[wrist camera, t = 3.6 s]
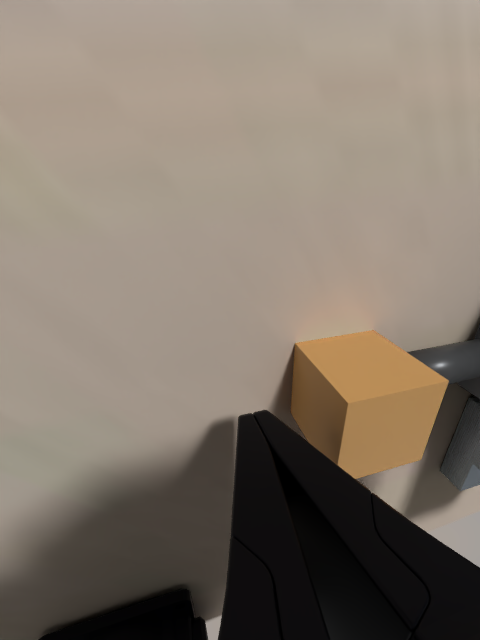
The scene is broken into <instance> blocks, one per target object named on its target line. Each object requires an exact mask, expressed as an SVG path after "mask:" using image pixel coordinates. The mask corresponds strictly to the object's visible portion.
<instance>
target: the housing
mask: <svg viewBox="0 0 480 640" xmlns="http://www.w3.org/2000/svg"><path fill="white" fill-rule="evenodd" d="M440 471H441V472H442V473H443V474H444V475H445V476H446V477H447V478H448V479H449V480H450V481H451V483H452V484H453V485H454V486H455V487H456V488H457V489H458V490H459V491H462V490H465V489H468V488H471V487H474V486H477V485H480V399H479V398H478V397H476V396H475V397H471V398H469V399H468V402H467V404H466V407H465V409H464V412H463V414H462V417H461V419H460V422H459V424H458V426H457V429H456V431H455V434H454V436H453V439H452V441H451V444H450V446H449V449H448V451H447V454H446V456H445V459H444V461H443V464H442V466H441V468H440Z"/></svg>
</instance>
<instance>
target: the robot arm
mask: <svg viewBox="0 0 480 640" xmlns="http://www.w3.org/2000/svg"><path fill="white" fill-rule="evenodd" d="M39 640H208V636H207V630H206V624H205V620H204V619H203V618H201V617H200V616H199V617H197V618H196V617H195V612H194V607H193V602H192V597H191V592H190V591H189V590H187V589H182V590H178V591H175V592H172V593H169V594H166V595H163V596H160V597H157V598H154V599H151V600H148V601H145V602H142V603H139V604H136V605H133V606H130V607H127V608H124V609H122V610H119V611H116V612H113V613H110V614H107V615H104V616H101V617H98V618H95V619H92V620H89V621H86V622H83V623H80V624H77V625H74V626H71V627H68V628H65V629H62V630H59V631H56V632H53V633H50V634H47V635H45V636H43V637H41V638H40V639H39ZM218 640H480V568H479V567H478V566H476V565H475V564H473V563H472V562H470V561H469V560H467V559H466V558H464V557H463V556H461V555H460V554H458V553H457V552H455V551H454V550H452V549H451V548H449V547H447V546H446V545H444V544H443V543H442V542H440V541H438V540H437V539H436V538H434V537H433V536H431V535H430V534H428V533H427V532H425V531H424V530H423V529H421V528H420V527H418V526H417V525H415V524H414V523H412V522H411V521H410V520H408V519H407V518H406V517H404V516H403V515H402V514H400V513H399V512H398V511H396V510H395V509H394V508H392V507H391V506H390V505H388V504H387V503H386V502H384V501H383V500H382V499H380V498H379V497H378V496H377V495H375V494H374V493H372V494H371V491H370V490H369V489H367V488H366V487H365V486H364V485H362V484H361V483H360V482H358V481H357V480H356V479H355V478H353V477H352V476H351V475H350V474H348V473H347V472H346V471H344V470H343V469H342V468H341V467H339V466H338V465H337V464H335V463H334V462H333V461H332V460H330V459H329V458H328V457H326V456H325V455H324V454H323V453H321V452H320V451H319V450H317V449H316V448H315V447H314V446H312V445H311V444H310V443H308V442H307V441H306V440H305V439H303V438H302V437H301V436H300V435H298V434H297V433H296V432H294V431H293V430H292V429H291V428H289V427H288V426H287V425H285V424H284V423H283V422H282V421H280V420H279V419H278V418H276V417H275V416H274V415H273V414H271V413H270V412H269V411H267V410H262V411H258V412H254V413H253V414H252V413H249V414H244V415H240V416H239V417H238V430H237V446H236V461H235V476H234V491H233V506H232V522H231V539H230V549H229V563H228V573H227V583H226V592H225V599H224V605H223V612H222V618H221V626H220V631H219V636H218Z"/></svg>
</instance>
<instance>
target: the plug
mask: <svg viewBox="0 0 480 640" xmlns="http://www.w3.org/2000/svg"><path fill="white" fill-rule="evenodd" d="M457 382H458V383H457ZM452 383H457V384H458V385H460V386H461V387H463V388H464V389H466V390H467V391H469V392H470V393H472V394H473V395H475V396H476V397H478V398H479V399H480V324H479V327H478V330H477V332H476V335H475V338H474V340H469V341H464V342H458V343H453V344H448V345H443V346H437V347H432V348H427V349H422V350H417V351H411V352H405V351H404V350H402V349H401V348H399V347H398V346H396V345H395V344H393V343H392V342H391V341H389V340H388V339H386V338H385V337H383V336H382V335H380V334H379V333H377V332H376V331H374V330H372V331H366V332H360V333H353V334H347V335H341V336H335V337H329V338H323V339H317V340H311V341H305V342H299V343H295V353H294V368H293V383H292V399H291V414H292V416H293V417H294V419H295V421H296V422H297V424H298V426H299V427H300V429H301V431H302V432H303V434H304V436H305V437H306V439H307V441H308V442H309V443H310V444H311V445H312V446H314V447H315V448H316V449H317V450H319V451H320V452H321V453H323V454H324V455H325V456H326V457H328V458H329V459H330V460H332V461H333V462H334V463H335V464H337V465H338V466H339V467H341V468H342V469H343V470H344V471H346V472H347V473H348V474H350V475H351V476H352V477H353V478H355V479H357V478H360V477H364V476H367V475H371V474H374V473H378V472H381V471H384V470H388V469H391V468H395V467H398V466H401V465H405V464H408V463H412V462H415V461H418V460H421V459H422V456H423V453H424V450H425V447H426V444H427V442H428V439H429V436H430V433H431V430H432V428H433V425H434V422H435V419H436V416H437V413H438V411H439V408H440V405H441V402H442V399H443V396H444V394H445V391H446V388H447V385H448V384H452Z"/></svg>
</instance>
